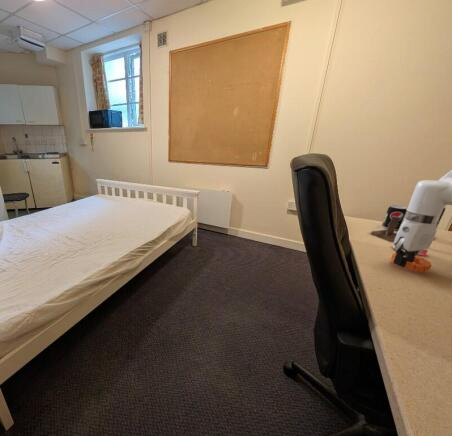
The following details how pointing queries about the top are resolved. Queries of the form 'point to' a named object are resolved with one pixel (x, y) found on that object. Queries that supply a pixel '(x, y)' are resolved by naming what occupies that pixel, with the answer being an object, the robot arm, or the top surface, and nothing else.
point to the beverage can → (394, 211)
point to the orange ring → (416, 264)
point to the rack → (388, 230)
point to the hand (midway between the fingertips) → (402, 264)
